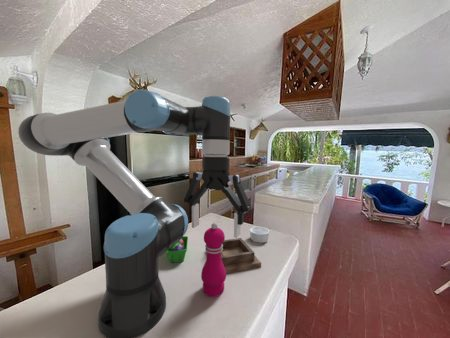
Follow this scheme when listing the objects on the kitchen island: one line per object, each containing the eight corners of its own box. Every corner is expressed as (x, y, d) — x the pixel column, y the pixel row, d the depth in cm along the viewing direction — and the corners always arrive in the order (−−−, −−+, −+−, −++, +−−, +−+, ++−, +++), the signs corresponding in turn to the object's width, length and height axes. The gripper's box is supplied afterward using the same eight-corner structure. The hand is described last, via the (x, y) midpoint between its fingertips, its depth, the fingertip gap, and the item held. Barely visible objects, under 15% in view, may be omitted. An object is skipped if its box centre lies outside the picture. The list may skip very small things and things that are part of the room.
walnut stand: (217, 274, 64) (217, 261, 64) (206, 251, 80) (206, 240, 79) (261, 266, 69) (261, 254, 69) (242, 245, 85) (243, 235, 84)
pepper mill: (230, 286, 59) (231, 222, 57) (216, 302, 53) (217, 230, 51) (210, 278, 63) (211, 217, 61) (195, 291, 57) (196, 224, 55)
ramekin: (269, 244, 86) (269, 235, 86) (248, 242, 88) (249, 233, 88) (268, 236, 95) (269, 227, 95) (250, 234, 97) (250, 225, 96)
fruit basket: (187, 263, 71) (187, 233, 70) (161, 265, 69) (161, 234, 68) (188, 247, 82) (188, 221, 81) (166, 249, 81) (165, 222, 80)
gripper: (264, 156, 52) (261, 234, 54) (187, 154, 63) (187, 219, 65) (255, 157, 45) (252, 246, 47) (171, 155, 56) (172, 227, 58)
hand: (215, 230), depth 56 cm, fingers open, 13 cm apart
